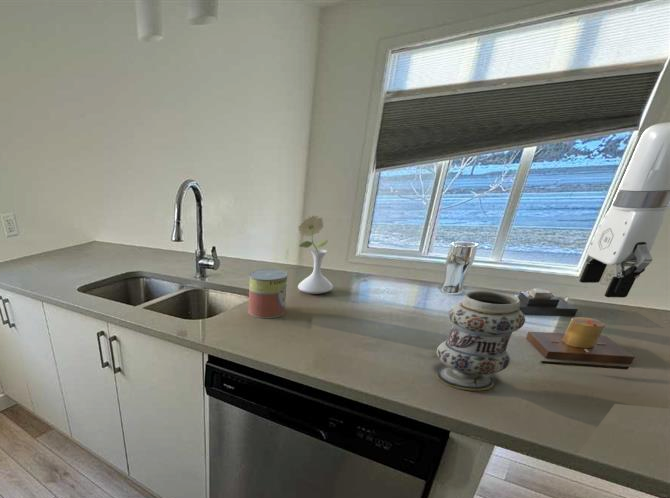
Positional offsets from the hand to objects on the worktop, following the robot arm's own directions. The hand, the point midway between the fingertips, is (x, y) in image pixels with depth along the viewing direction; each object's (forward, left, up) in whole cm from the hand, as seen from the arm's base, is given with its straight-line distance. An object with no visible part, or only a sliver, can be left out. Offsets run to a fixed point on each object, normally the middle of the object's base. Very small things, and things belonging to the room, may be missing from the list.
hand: (601, 289), depth 84 cm
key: (-3, -28, -11) cm, 31 cm away
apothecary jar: (+24, +18, -15) cm, 34 cm away
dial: (+1, +2, -12) cm, 12 cm away
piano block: (-2, -28, -15) cm, 32 cm away
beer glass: (+14, -42, -15) cm, 47 cm away
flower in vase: (+57, -39, -15) cm, 70 cm away
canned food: (+70, -17, -15) cm, 73 cm away
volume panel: (+1, +2, -15) cm, 15 cm away
